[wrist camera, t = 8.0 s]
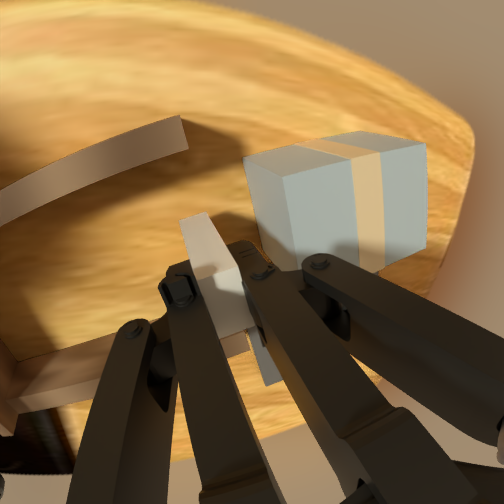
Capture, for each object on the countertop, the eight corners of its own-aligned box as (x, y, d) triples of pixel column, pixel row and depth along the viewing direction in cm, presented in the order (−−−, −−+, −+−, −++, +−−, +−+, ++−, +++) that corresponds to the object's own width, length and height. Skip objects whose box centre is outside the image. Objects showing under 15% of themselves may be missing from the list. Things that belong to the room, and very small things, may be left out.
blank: (262, 250, 20) (303, 301, 15) (241, 156, 17) (282, 176, 12) (367, 215, 21) (426, 249, 16) (358, 130, 19) (426, 142, 13)
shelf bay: (18, 378, 18) (2, 436, 13) (-69, 234, 12) (-116, 275, 7) (233, 311, 21) (261, 373, 16) (174, 116, 15) (183, 114, 10)
